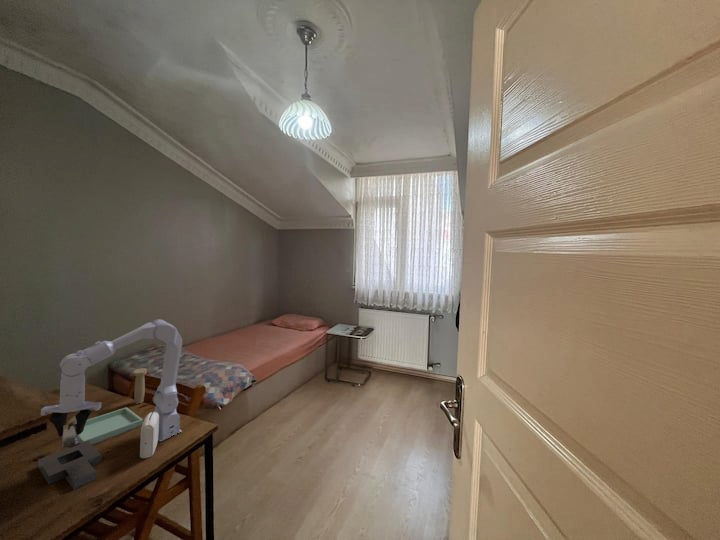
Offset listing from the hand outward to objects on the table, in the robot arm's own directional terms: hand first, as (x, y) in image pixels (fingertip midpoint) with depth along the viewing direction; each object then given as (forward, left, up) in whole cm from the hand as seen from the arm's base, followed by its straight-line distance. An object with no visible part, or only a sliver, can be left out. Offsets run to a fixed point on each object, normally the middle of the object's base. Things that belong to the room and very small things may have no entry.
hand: (71, 433), depth 94 cm
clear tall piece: (0, 0, -3) cm, 3 cm away
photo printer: (-11, -18, -10) cm, 24 cm away
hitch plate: (-4, 0, -10) cm, 11 cm away
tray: (+15, -14, -10) cm, 23 cm away
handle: (+29, -30, -10) cm, 43 cm away
